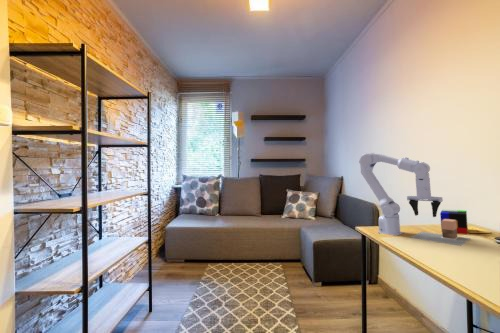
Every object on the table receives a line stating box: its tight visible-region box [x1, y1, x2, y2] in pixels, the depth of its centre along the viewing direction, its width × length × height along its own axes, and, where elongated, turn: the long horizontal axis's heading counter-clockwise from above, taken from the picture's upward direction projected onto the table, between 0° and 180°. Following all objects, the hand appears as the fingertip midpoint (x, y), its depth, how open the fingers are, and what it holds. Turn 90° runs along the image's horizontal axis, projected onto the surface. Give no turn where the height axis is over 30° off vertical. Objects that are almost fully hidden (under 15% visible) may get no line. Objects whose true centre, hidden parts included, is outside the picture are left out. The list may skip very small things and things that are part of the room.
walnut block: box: [441, 229, 458, 239], centre depth 125 cm, size 4×4×4 cm
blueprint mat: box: [409, 231, 471, 247], centre depth 125 cm, size 20×14×1 cm
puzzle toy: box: [439, 209, 469, 235], centre depth 135 cm, size 10×10×10 cm
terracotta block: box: [440, 219, 457, 230], centre depth 125 cm, size 4×4×4 cm
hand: (425, 215), depth 129 cm, fingers open, 7 cm apart
